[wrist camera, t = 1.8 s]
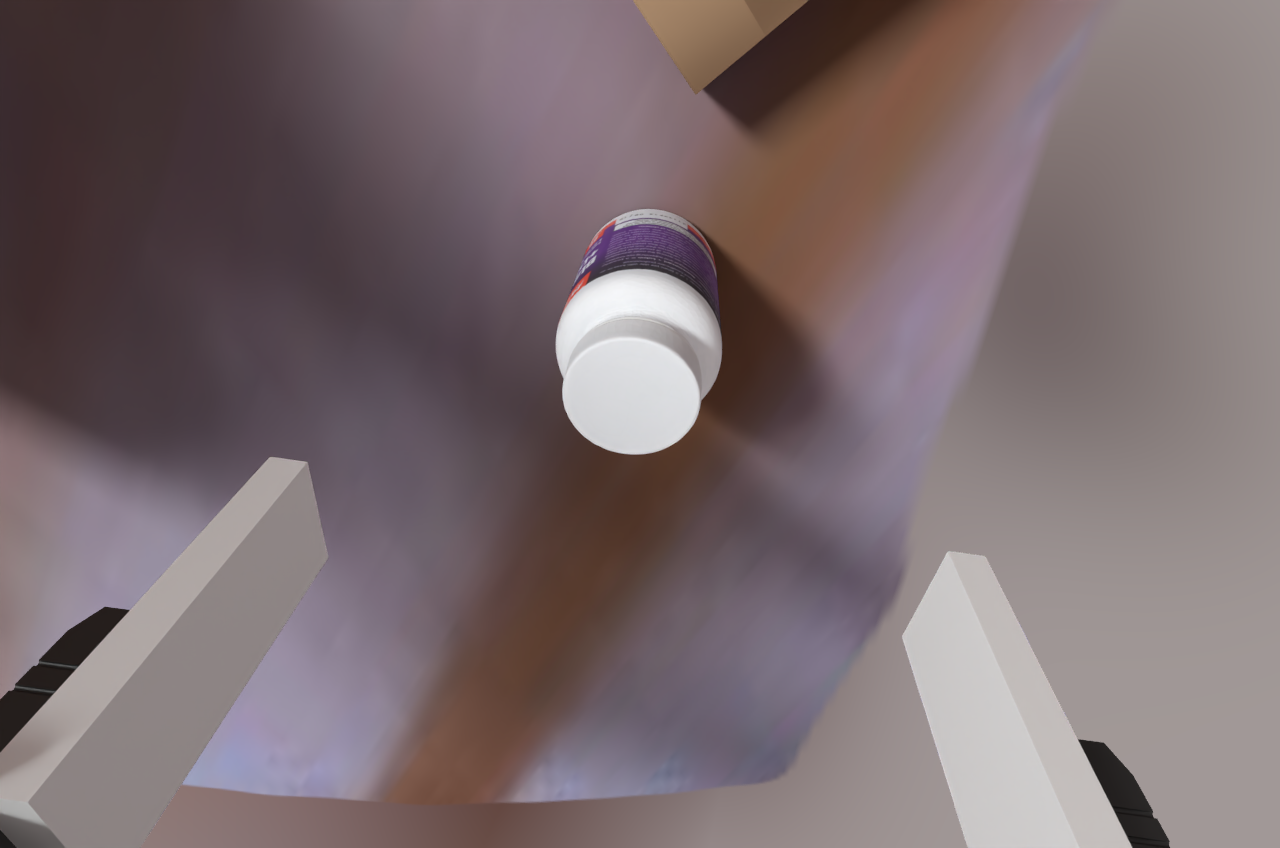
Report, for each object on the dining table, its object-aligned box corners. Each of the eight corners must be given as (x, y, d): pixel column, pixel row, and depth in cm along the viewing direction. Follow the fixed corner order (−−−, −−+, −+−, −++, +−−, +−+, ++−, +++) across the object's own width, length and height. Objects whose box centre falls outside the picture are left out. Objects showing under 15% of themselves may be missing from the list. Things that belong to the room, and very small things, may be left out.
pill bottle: (579, 204, 25) (527, 309, 17) (720, 206, 25) (734, 314, 17) (587, 332, 28) (545, 471, 20) (711, 335, 28) (720, 478, 20)
